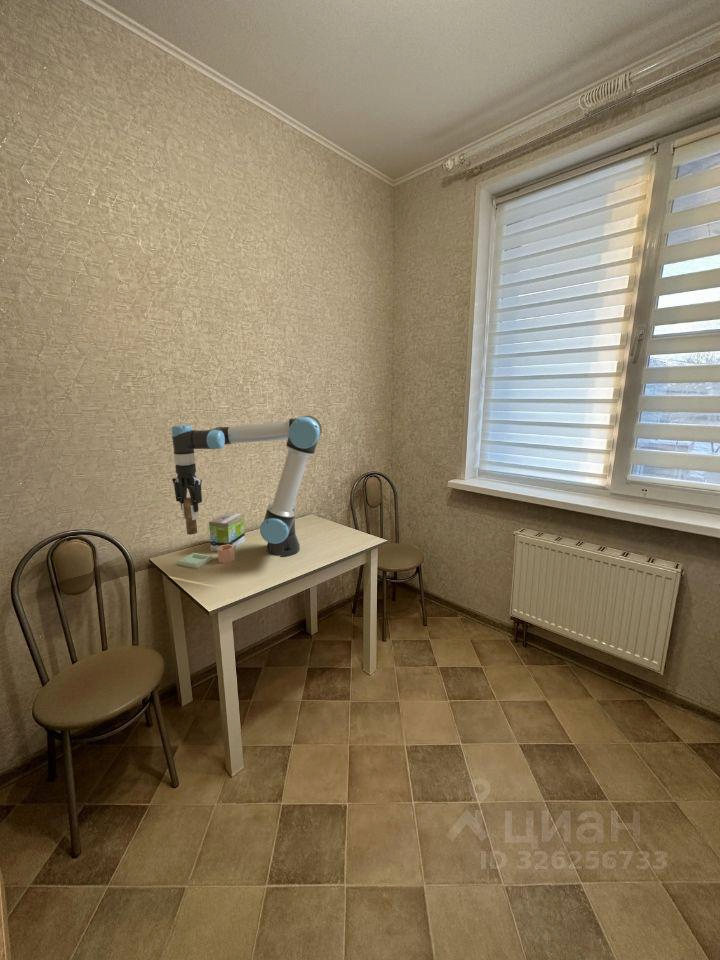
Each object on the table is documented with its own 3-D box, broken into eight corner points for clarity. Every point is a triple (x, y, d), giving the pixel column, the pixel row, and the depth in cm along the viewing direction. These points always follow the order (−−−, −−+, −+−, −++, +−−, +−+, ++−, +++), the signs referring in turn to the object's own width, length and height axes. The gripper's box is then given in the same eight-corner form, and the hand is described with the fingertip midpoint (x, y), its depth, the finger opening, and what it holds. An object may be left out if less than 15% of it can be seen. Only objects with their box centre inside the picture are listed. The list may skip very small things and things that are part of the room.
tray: (212, 561, 166) (211, 555, 166) (197, 569, 158) (196, 564, 158) (194, 558, 170) (193, 552, 169) (178, 566, 162) (177, 560, 161)
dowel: (199, 531, 162) (196, 497, 159) (192, 535, 158) (189, 500, 155) (191, 530, 163) (188, 497, 160) (184, 533, 160) (181, 499, 156)
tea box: (230, 553, 174) (227, 523, 171) (210, 552, 176) (207, 521, 173) (246, 541, 189) (244, 513, 185) (227, 540, 191) (225, 512, 187)
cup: (237, 559, 168) (236, 545, 167) (228, 565, 162) (226, 551, 161) (225, 557, 170) (224, 543, 169) (215, 563, 164) (214, 549, 163)
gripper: (208, 463, 155) (213, 518, 160) (176, 460, 161) (181, 513, 166) (195, 466, 148) (200, 523, 153) (161, 463, 154) (167, 518, 159)
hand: (190, 518), depth 159 cm, fingers closed on dowel, 4 cm apart
